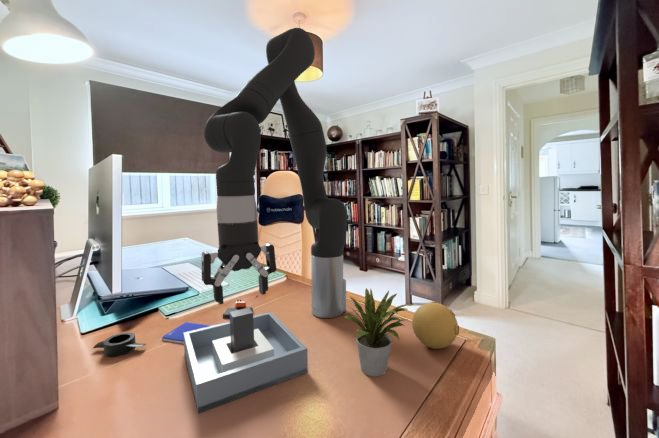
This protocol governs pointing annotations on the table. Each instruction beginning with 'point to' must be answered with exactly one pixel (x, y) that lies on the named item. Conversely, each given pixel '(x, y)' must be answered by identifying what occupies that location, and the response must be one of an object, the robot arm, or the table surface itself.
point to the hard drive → (178, 332)
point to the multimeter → (238, 306)
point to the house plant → (375, 333)
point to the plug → (241, 330)
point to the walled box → (241, 361)
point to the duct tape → (118, 344)
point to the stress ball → (435, 325)
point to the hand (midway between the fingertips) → (242, 298)
